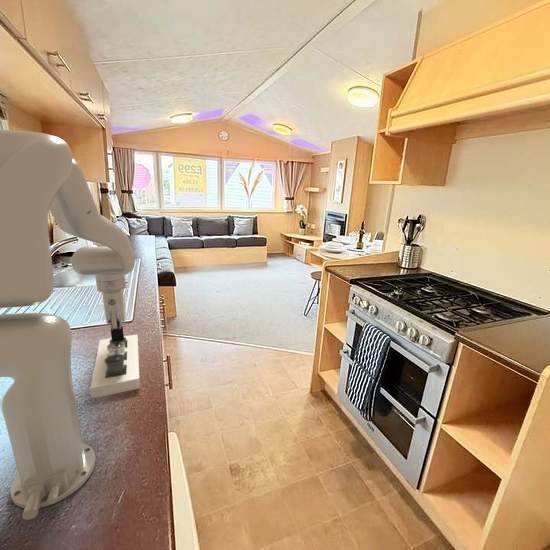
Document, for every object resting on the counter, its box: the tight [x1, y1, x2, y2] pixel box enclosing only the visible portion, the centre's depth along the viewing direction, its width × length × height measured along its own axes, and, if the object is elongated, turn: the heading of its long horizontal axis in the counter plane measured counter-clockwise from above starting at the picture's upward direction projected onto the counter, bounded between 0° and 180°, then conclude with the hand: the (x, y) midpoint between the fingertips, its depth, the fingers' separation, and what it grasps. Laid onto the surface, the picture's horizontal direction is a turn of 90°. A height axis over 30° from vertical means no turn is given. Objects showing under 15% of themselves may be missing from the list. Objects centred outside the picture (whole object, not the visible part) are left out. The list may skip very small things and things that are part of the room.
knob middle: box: [107, 342, 125, 358], centre depth 87 cm, size 5×5×4 cm
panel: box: [89, 334, 141, 399], centre depth 88 cm, size 26×11×3 cm, turn 24°
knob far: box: [110, 337, 126, 348], centre depth 94 cm, size 5×5×4 cm
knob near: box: [105, 354, 125, 377], centre depth 81 cm, size 5×5×4 cm
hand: (118, 339), depth 94 cm, fingers closed
